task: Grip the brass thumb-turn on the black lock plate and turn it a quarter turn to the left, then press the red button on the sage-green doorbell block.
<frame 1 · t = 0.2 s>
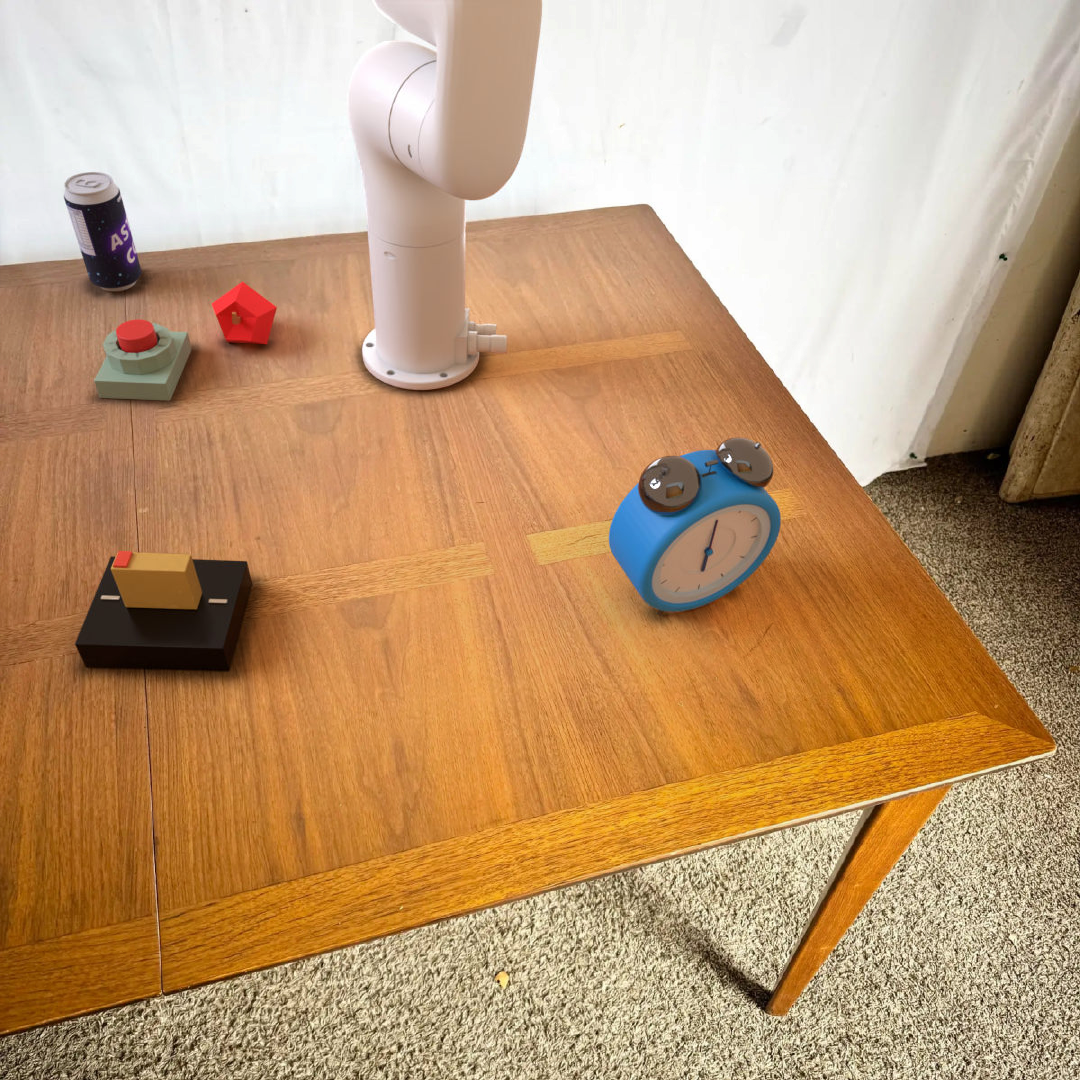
bell block: (147, 372, 100), on the table
beverage can: (118, 283, 111), on the table
bell button: (136, 336, 97), point 4 cm above the table, slide at 0.1 cm
lock knob: (157, 580, 74), point 5 cm above the table, hinge at 0.0°
apple: (248, 339, 105), on the table
lock plate: (172, 624, 78), on the table
alarm clock: (680, 587, 84), on the table
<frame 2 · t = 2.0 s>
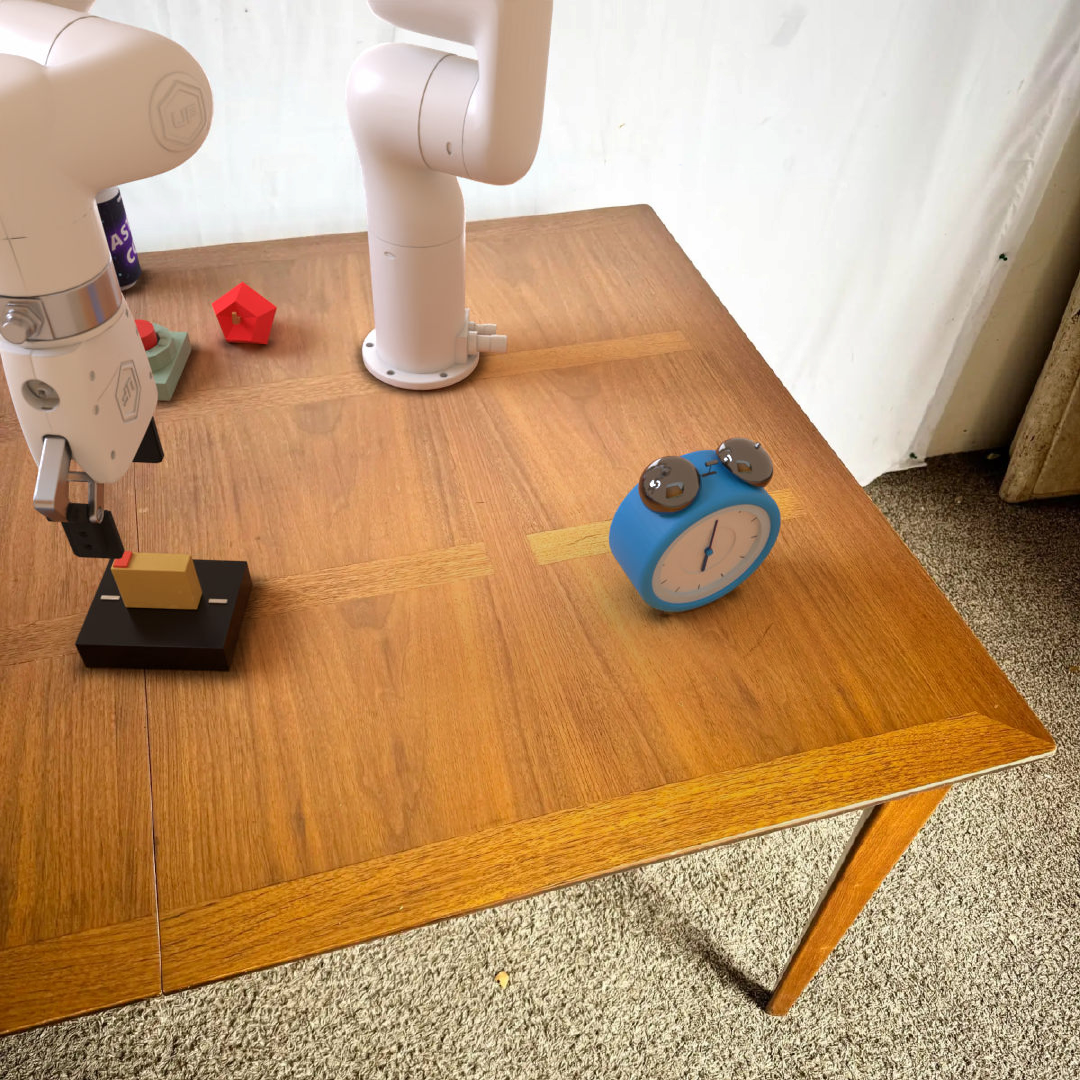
hand: (122, 505, 68), 13 cm above the table, tool pointing down, fingers open, 9 cm apart
nothing on the table moved.
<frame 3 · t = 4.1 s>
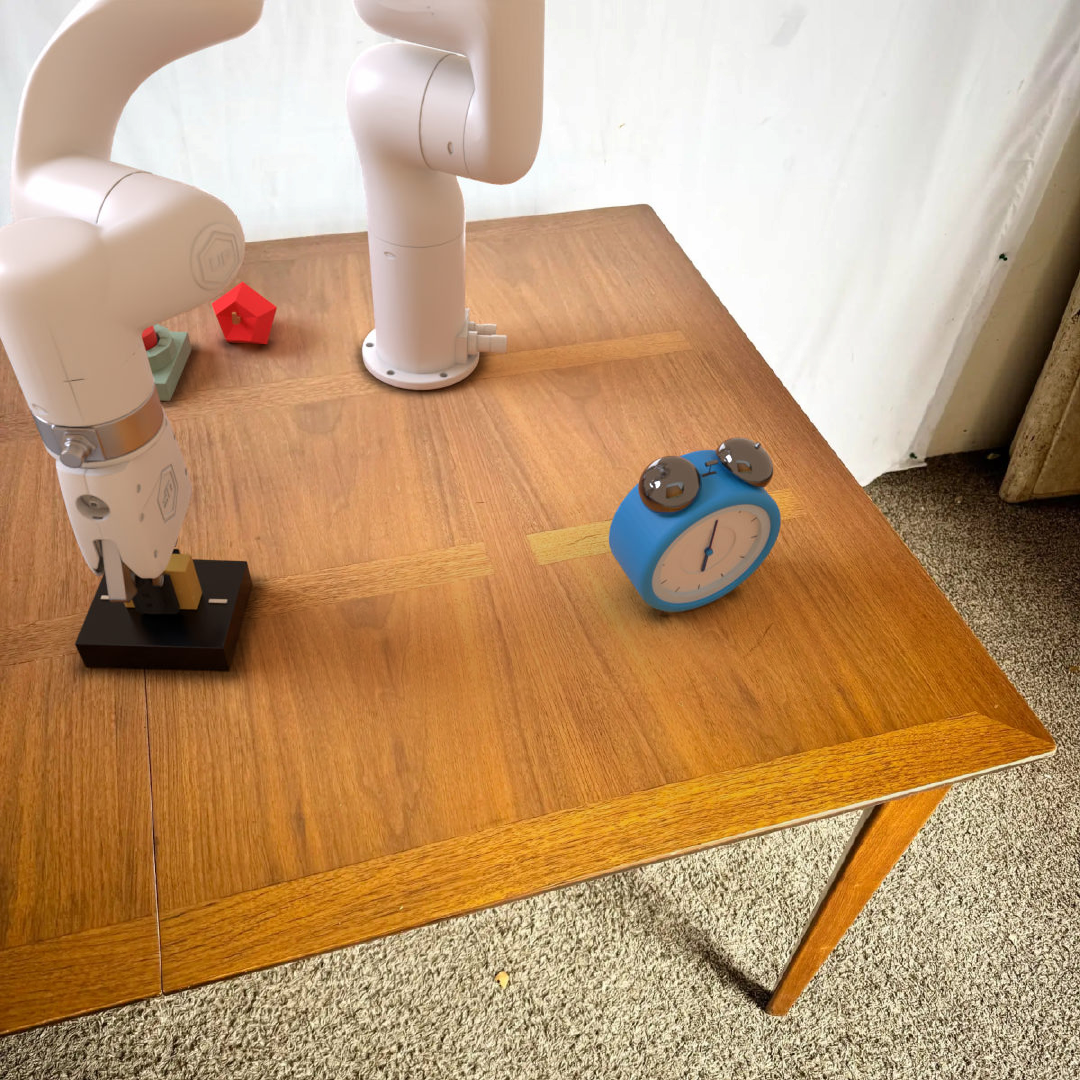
hand: (163, 596, 75), 3 cm above the table, tool pointing down, fingers closed on lock knob, 2 cm apart
lock knob: (157, 580, 74), point 5 cm above the table, hinge at 0.0°, touching gripper
everything else where it was.
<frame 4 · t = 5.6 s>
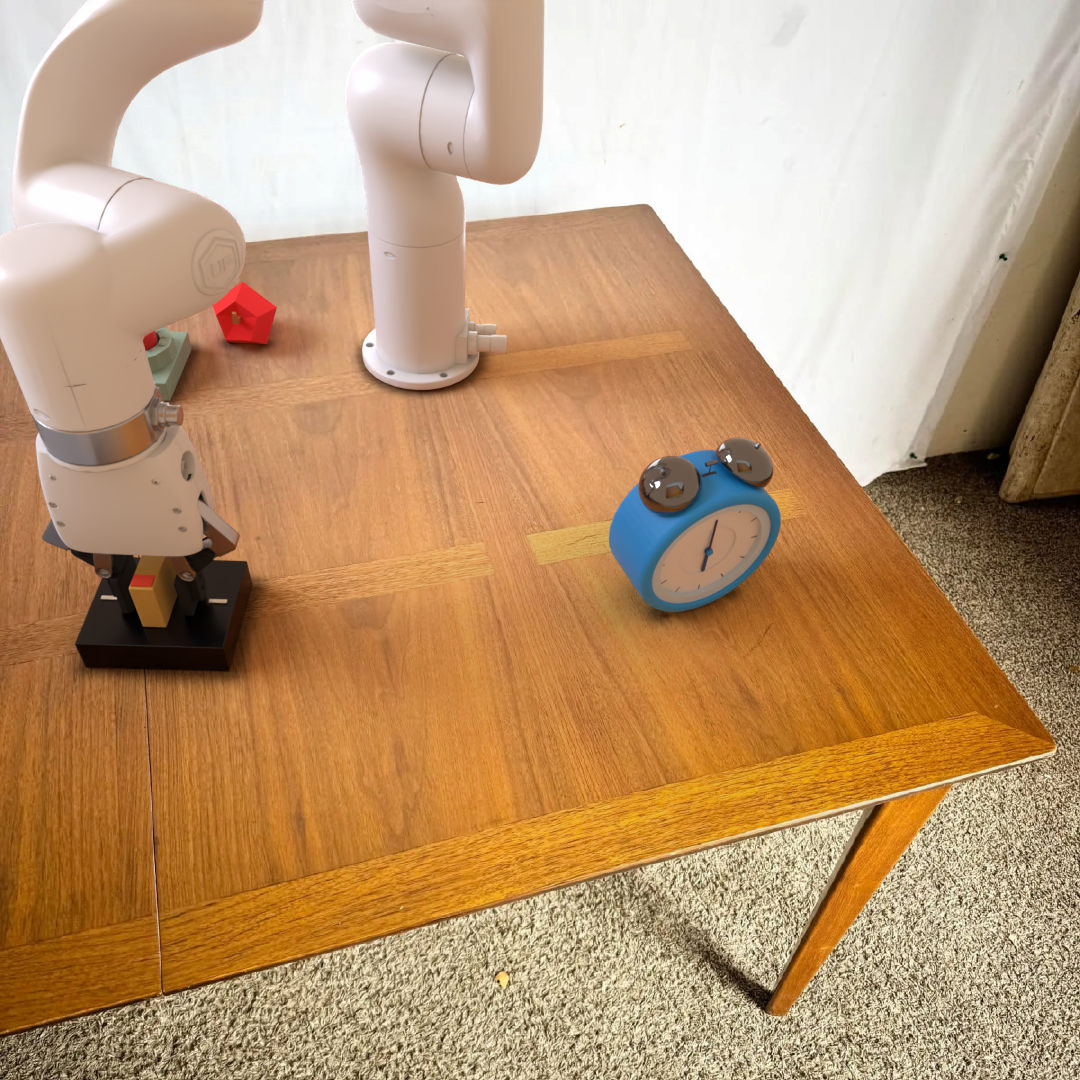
hand: (163, 599, 75), 3 cm above the table, tool pointing down, fingers open, 4 cm apart
lock knob: (157, 580, 74), point 5 cm above the table, hinge at 89.6°
everything else where it was.
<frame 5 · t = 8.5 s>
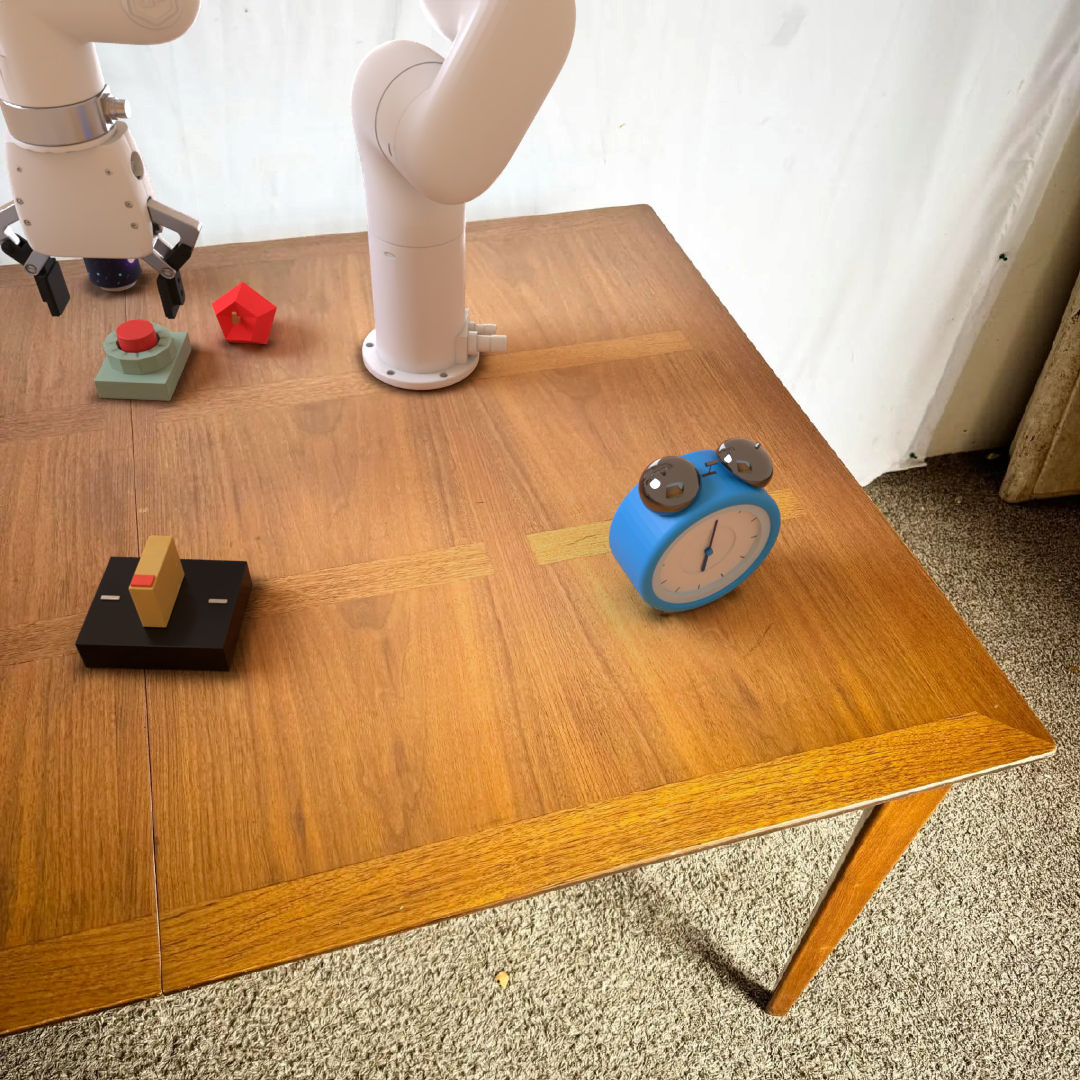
hand: (118, 309, 85), 13 cm above the table, tool pointing down, fingers open, 9 cm apart
nothing on the table moved.
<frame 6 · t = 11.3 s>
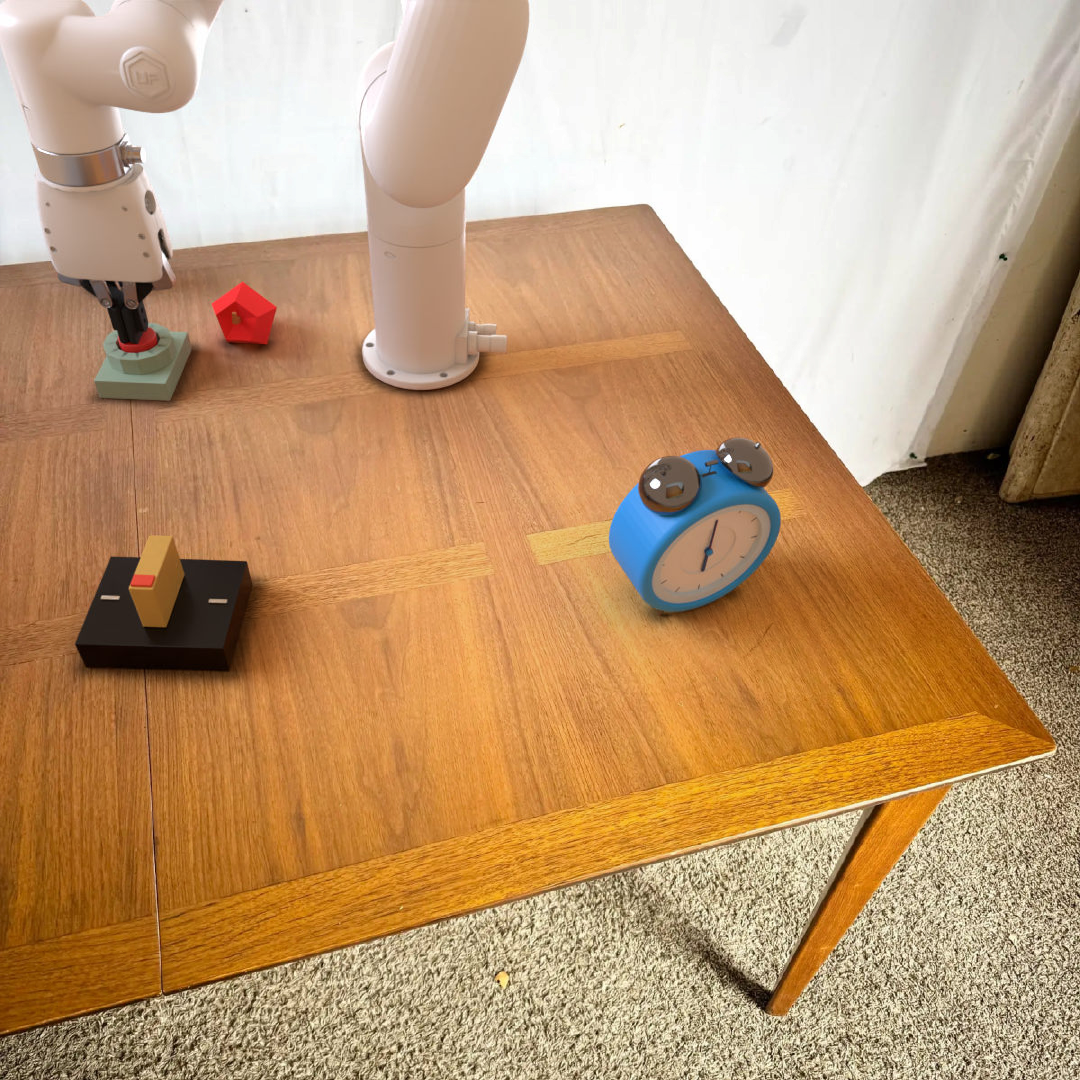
hand: (133, 335, 97), 5 cm above the table, tool pointing down, fingers closed
bell button: (138, 342, 97), point 4 cm above the table, slide at -0.7 cm, touching gripper
everything else where it was.
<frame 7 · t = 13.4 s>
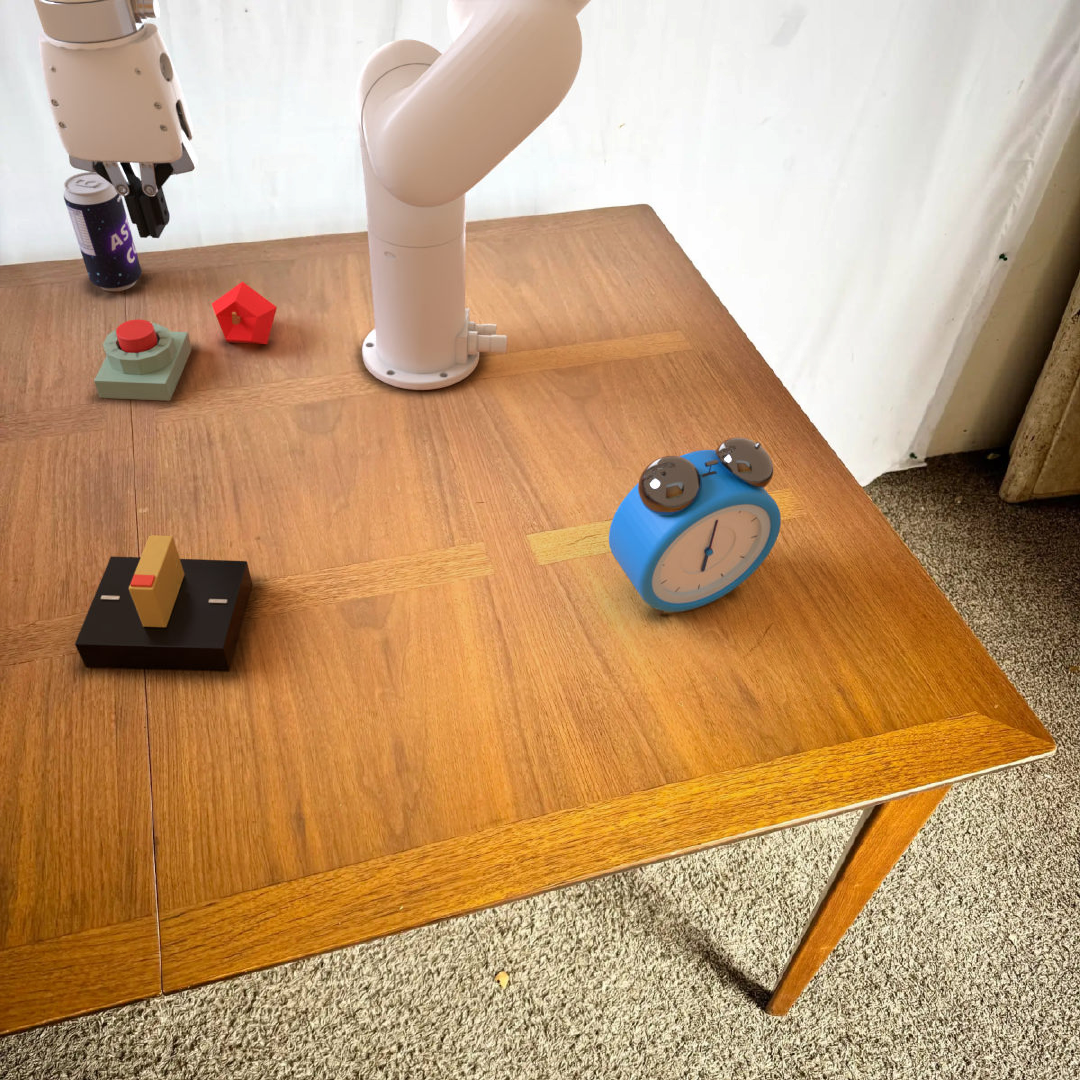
hand: (154, 230, 88), 16 cm above the table, tool pointing down, fingers closed
bell button: (136, 336, 97), point 4 cm above the table, slide at 0.1 cm
everything else where it was.
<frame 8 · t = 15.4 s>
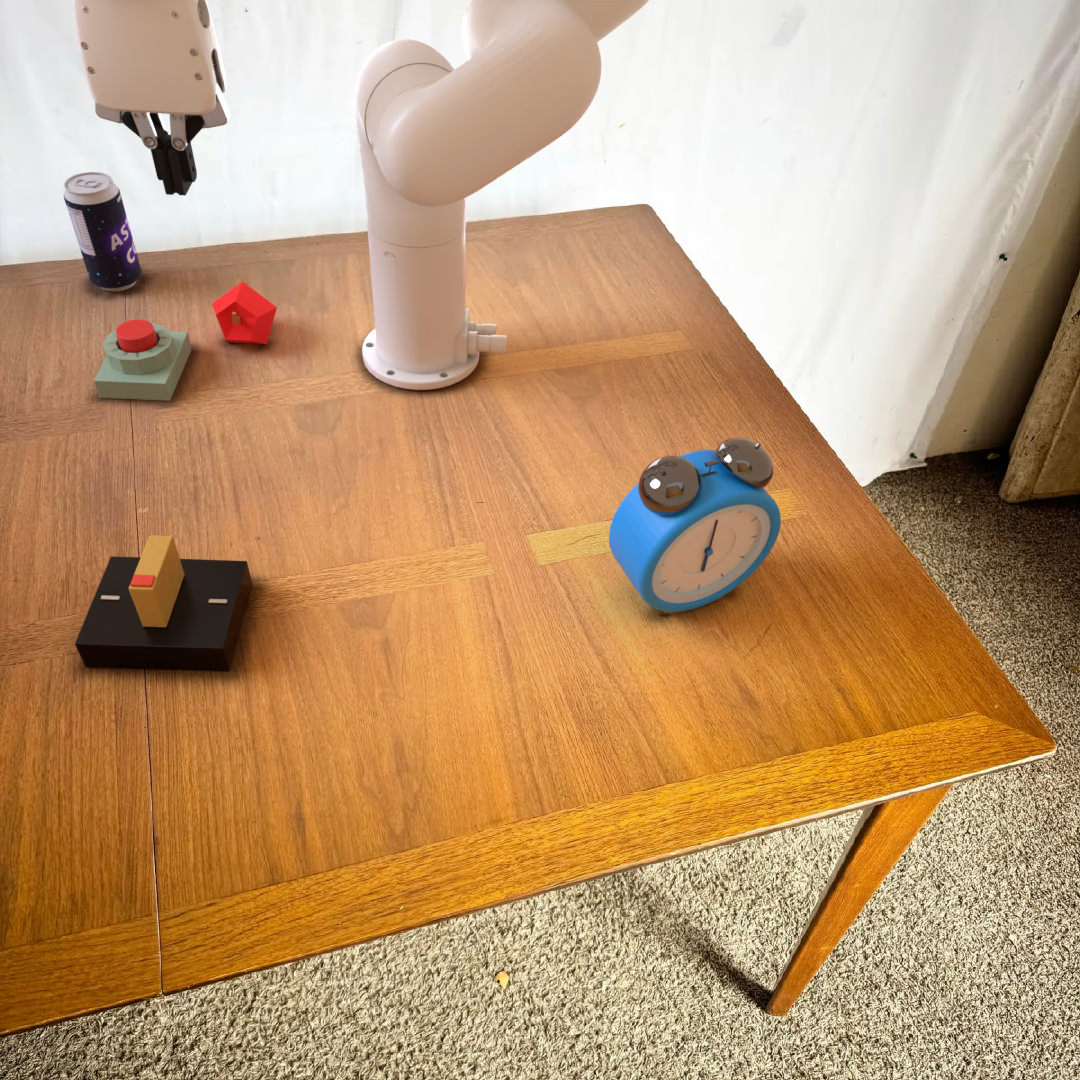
hand: (180, 187, 84), 21 cm above the table, tool pointing down, fingers closed
nothing on the table moved.
at the end: lock knob at +90° (first picture: +0°); bell button pushed in 1.1 cm at the most during the clip, back to where it started at the end; bell button slide at 0.1 cm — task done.
